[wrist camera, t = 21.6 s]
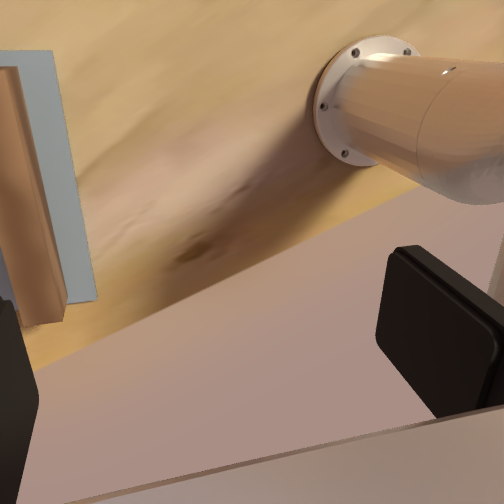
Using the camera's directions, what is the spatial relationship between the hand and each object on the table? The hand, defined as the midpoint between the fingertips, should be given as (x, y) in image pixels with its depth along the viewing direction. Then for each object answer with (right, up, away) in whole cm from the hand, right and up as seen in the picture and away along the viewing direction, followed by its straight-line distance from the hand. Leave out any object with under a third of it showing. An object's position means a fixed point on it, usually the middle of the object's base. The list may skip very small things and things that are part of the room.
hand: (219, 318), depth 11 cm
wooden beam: (-20, +7, +29) cm, 36 cm away
